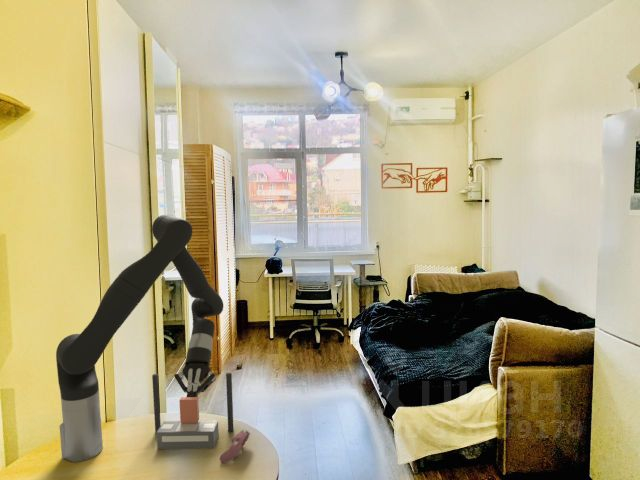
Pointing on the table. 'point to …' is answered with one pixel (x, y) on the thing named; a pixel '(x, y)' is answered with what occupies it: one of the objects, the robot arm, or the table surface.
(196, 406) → the block
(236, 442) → the video game controller
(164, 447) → the breaker block
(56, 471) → the table surface
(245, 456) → the table surface
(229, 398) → the cord posts
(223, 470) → the table surface
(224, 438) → the table surface
